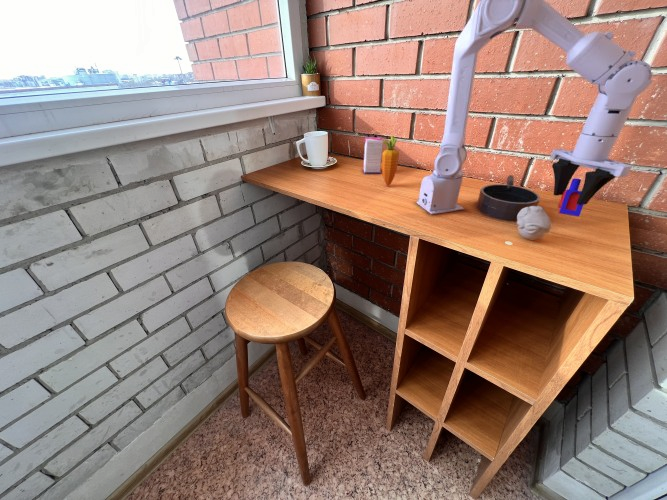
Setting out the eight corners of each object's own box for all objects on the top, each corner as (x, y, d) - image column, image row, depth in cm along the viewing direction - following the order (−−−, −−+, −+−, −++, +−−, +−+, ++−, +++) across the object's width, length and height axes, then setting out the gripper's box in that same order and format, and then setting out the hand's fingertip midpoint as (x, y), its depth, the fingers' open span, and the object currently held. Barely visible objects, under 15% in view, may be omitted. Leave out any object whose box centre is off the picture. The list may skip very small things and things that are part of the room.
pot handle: (511, 191, 76) (513, 186, 75) (505, 190, 77) (507, 185, 76) (512, 180, 84) (514, 174, 83) (506, 179, 85) (508, 174, 84)
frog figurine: (529, 229, 65) (540, 200, 61) (552, 244, 59) (566, 214, 56) (504, 231, 65) (514, 202, 61) (525, 247, 59) (537, 216, 55)
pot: (502, 224, 67) (508, 206, 65) (465, 203, 78) (469, 187, 76) (546, 216, 70) (553, 199, 68) (505, 197, 81) (510, 182, 79)
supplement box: (380, 173, 101) (383, 140, 95) (364, 174, 102) (365, 140, 95) (378, 169, 106) (381, 136, 100) (363, 169, 107) (364, 137, 100)
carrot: (388, 190, 88) (393, 139, 80) (376, 186, 91) (379, 136, 83) (398, 186, 91) (404, 136, 82) (386, 182, 94) (390, 134, 86)
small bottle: (574, 218, 64) (586, 182, 63) (579, 216, 60) (592, 178, 59) (555, 214, 65) (567, 180, 64) (559, 212, 62) (571, 176, 61)
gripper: (658, 139, 50) (618, 209, 58) (578, 126, 62) (554, 186, 70) (629, 142, 49) (592, 214, 56) (553, 129, 61) (530, 189, 68)
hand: (569, 199), depth 63 cm, fingers closed on small bottle, 5 cm apart
